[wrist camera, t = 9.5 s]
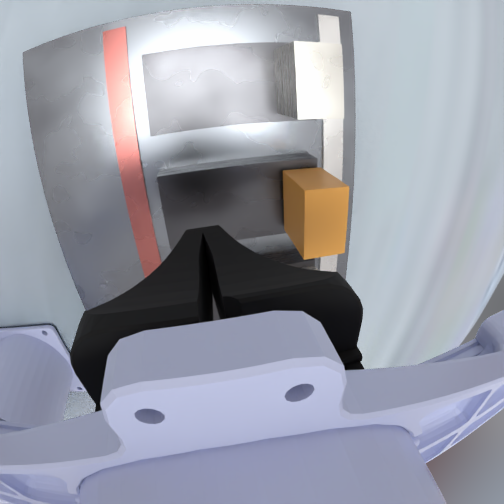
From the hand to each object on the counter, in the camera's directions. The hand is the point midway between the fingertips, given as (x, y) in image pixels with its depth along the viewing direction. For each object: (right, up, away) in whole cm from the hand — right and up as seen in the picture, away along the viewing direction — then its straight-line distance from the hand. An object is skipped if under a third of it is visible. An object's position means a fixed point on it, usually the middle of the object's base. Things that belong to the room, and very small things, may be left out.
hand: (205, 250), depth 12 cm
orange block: (+4, +3, +4) cm, 6 cm away
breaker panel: (-1, +2, +7) cm, 7 cm away
